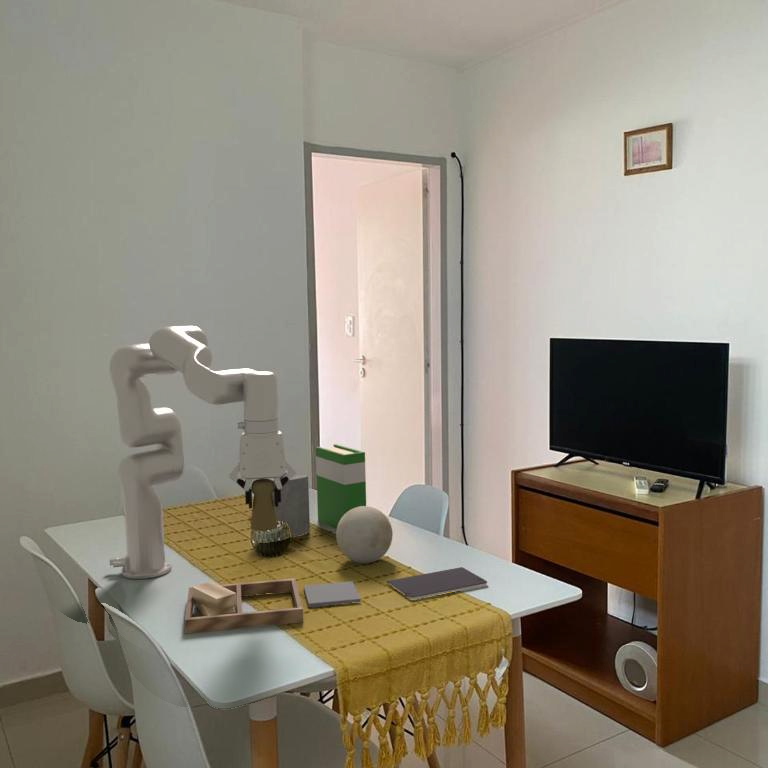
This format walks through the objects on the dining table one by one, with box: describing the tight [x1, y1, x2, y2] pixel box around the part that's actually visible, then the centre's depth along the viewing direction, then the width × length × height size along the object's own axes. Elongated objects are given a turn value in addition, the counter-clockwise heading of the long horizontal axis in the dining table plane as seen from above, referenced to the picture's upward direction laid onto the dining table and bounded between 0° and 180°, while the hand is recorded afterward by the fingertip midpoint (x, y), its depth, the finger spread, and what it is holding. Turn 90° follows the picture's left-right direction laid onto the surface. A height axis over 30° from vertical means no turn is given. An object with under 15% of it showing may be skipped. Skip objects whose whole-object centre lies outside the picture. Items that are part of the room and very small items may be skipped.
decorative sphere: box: [335, 505, 394, 564], centre depth 216 cm, size 15×15×15 cm
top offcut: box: [192, 581, 237, 612], centre depth 182 cm, size 5×11×3 cm, turn 42°
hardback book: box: [315, 444, 367, 531], centre depth 251 cm, size 18×7×24 cm, turn 33°
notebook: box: [386, 567, 488, 600], centre depth 197 cm, size 13×2×21 cm
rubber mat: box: [303, 581, 362, 608], centre depth 192 cm, size 12×12×1 cm
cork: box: [250, 478, 277, 532], centre depth 183 cm, size 6×6×11 cm
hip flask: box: [269, 470, 311, 538], centre depth 240 cm, size 16×4×20 cm, turn 121°
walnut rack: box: [184, 578, 304, 634], centre depth 184 cm, size 25×20×3 cm
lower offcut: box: [195, 601, 237, 617], centre depth 183 cm, size 6×14×3 cm, turn 24°
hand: (263, 505), depth 183 cm, fingers closed on cork, 5 cm apart
